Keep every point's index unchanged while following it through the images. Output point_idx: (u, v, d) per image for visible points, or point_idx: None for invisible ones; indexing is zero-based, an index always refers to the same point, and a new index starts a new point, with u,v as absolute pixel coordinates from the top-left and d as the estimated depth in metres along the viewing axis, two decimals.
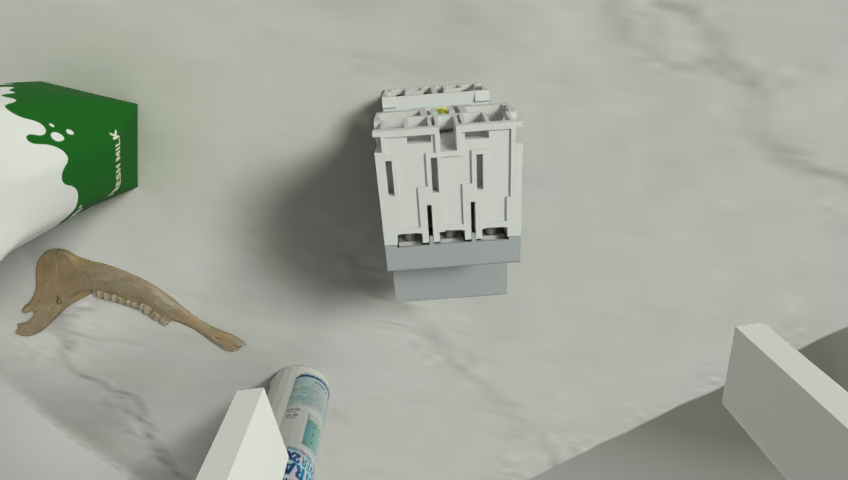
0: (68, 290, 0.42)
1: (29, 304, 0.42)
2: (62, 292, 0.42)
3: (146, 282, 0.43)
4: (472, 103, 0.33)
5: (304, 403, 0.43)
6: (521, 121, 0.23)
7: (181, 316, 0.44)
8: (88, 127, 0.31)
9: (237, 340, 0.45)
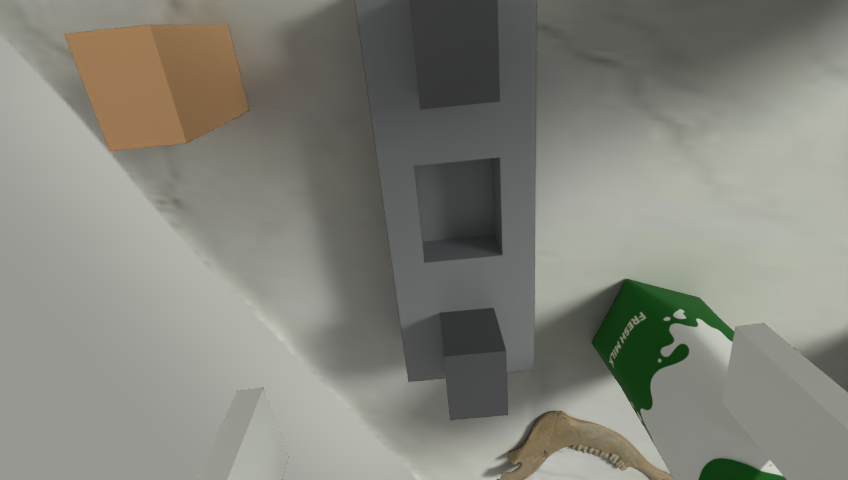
0: (558, 446, 0.46)
1: (518, 457, 0.47)
2: (551, 447, 0.46)
3: (620, 436, 0.47)
4: None
5: None
6: None
7: (639, 463, 0.48)
8: None
9: None
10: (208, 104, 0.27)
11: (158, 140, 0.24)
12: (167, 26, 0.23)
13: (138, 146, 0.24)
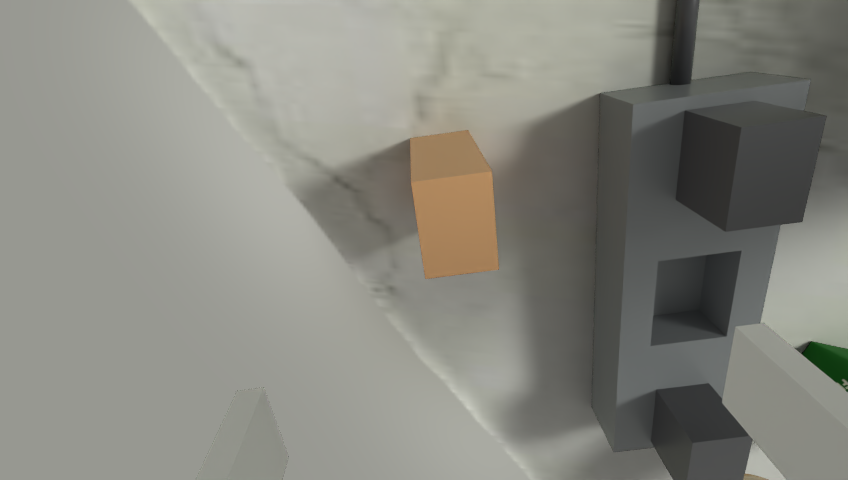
0: None
1: None
2: None
3: None
4: None
5: None
6: None
7: None
8: None
9: None
10: None
11: (473, 268, 0.25)
12: None
13: (453, 274, 0.25)
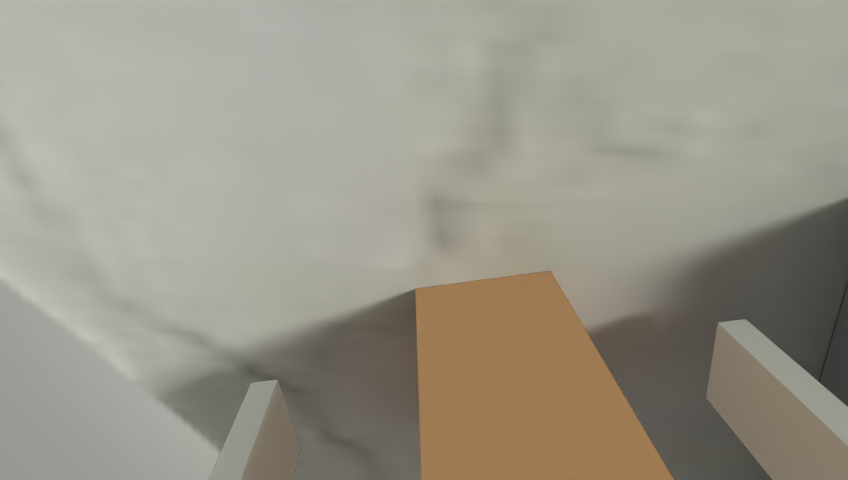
0: None
1: None
2: None
3: None
4: None
5: None
6: None
7: None
8: None
9: None
10: None
11: None
12: None
13: None
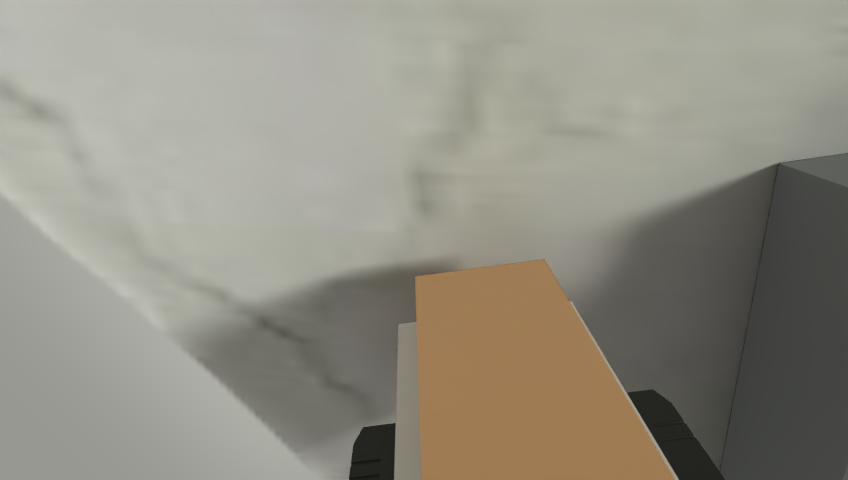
0: None
1: None
2: None
3: None
4: None
5: None
6: None
7: None
8: None
9: None
10: None
11: None
12: None
13: None
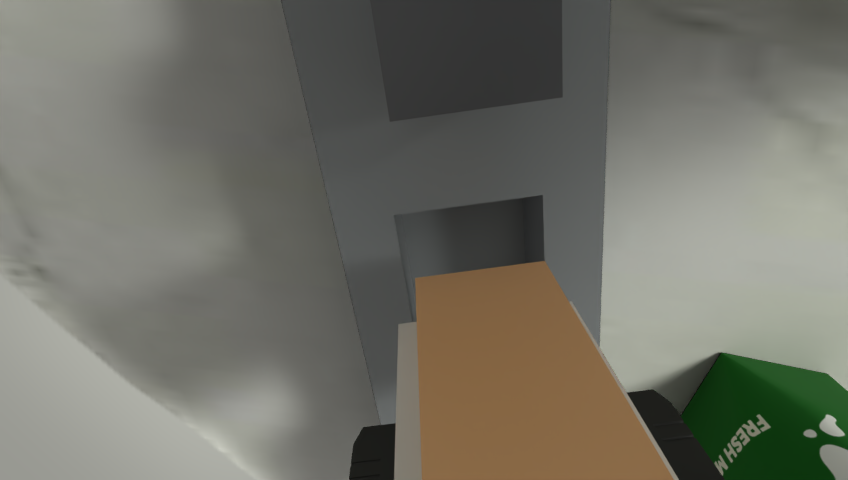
0: None
1: None
2: None
3: None
4: None
5: None
6: None
7: None
8: None
9: None
10: None
11: None
12: None
13: None
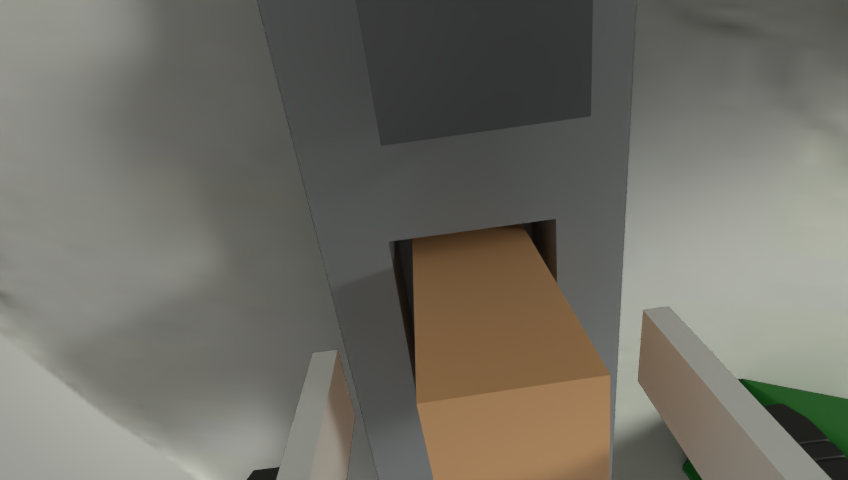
0: None
1: None
2: None
3: None
4: None
5: None
6: None
7: None
8: None
9: None
10: None
11: None
12: (583, 329, 0.11)
13: None
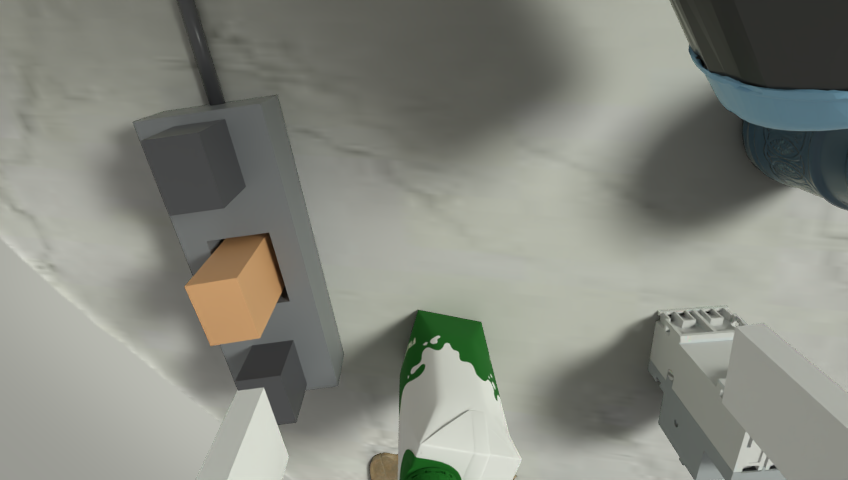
0: (394, 478, 0.59)
1: None
2: None
3: None
4: None
5: None
6: None
7: None
8: (488, 364, 0.45)
9: None
10: (268, 298, 0.39)
11: (241, 337, 0.36)
12: (244, 268, 0.36)
13: (229, 342, 0.36)
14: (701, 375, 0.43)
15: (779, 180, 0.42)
